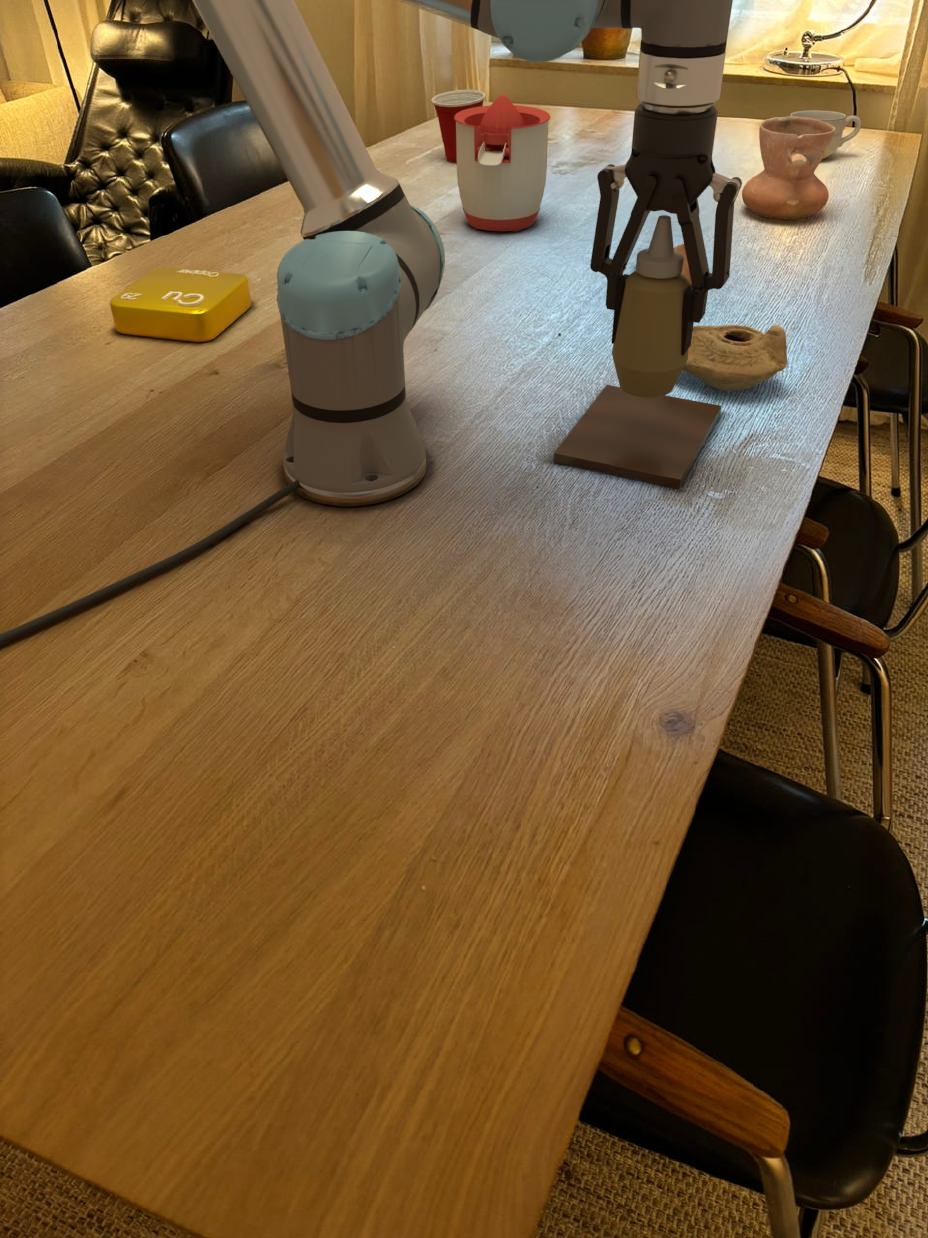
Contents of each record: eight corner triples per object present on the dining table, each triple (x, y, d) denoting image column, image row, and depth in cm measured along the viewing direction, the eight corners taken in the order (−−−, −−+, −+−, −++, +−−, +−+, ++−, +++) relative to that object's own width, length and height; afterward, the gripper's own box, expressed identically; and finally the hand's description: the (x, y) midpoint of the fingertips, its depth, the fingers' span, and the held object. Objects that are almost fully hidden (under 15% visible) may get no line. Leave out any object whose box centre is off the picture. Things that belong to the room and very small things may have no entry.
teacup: (781, 161, 199) (789, 117, 194) (784, 147, 207) (791, 105, 202) (854, 166, 196) (864, 121, 191) (854, 152, 204) (863, 109, 199)
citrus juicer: (443, 237, 166) (440, 105, 153) (467, 206, 179) (466, 82, 166) (535, 243, 163) (539, 109, 150) (553, 211, 176) (558, 85, 163)
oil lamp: (658, 359, 128) (665, 298, 123) (777, 366, 126) (790, 304, 121) (656, 397, 120) (663, 334, 115) (784, 405, 118) (797, 341, 113)
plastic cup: (424, 156, 206) (422, 92, 198) (471, 149, 209) (471, 86, 201) (446, 169, 198) (444, 102, 190) (494, 162, 201) (495, 96, 194)
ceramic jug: (830, 229, 166) (850, 138, 157) (742, 227, 168) (757, 136, 159) (817, 197, 180) (834, 112, 171) (735, 195, 182) (748, 110, 173)
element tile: (256, 303, 145) (251, 270, 141) (209, 344, 133) (203, 309, 130) (164, 293, 148) (157, 261, 145) (110, 333, 137) (102, 299, 134)
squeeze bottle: (612, 368, 112) (626, 202, 100) (685, 374, 110) (707, 206, 99) (605, 401, 106) (619, 228, 94) (682, 407, 104) (706, 232, 93)
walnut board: (679, 489, 103) (680, 479, 103) (553, 462, 108) (553, 452, 107) (720, 414, 116) (721, 405, 115) (605, 393, 121) (606, 384, 120)
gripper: (562, 104, 91) (552, 343, 106) (776, 122, 85) (734, 374, 99) (589, 87, 96) (576, 317, 111) (792, 103, 90) (750, 345, 104)
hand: (650, 343), depth 105 cm, fingers closed on squeeze bottle, 6 cm apart
